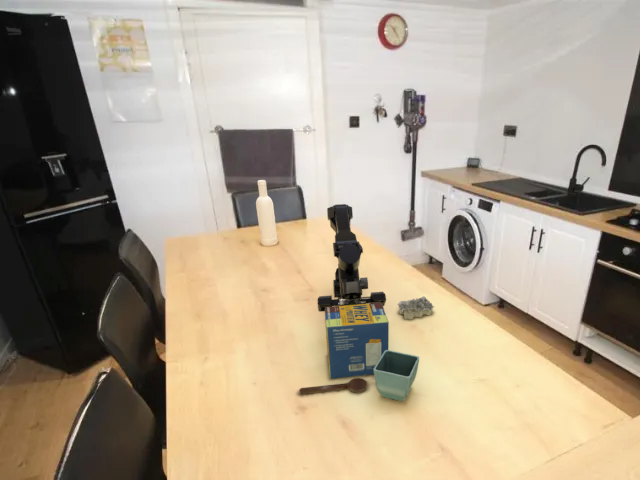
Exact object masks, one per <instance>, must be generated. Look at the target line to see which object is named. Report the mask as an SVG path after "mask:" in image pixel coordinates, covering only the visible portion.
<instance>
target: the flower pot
mask: <svg viewBox="0 0 640 480" xmlns="http://www.w3.org/2000/svg"><path fill="white" fill-rule="evenodd" d="M419 363H420V356H418V355H415V354H409V353H404V352H400V351H399V352H398V351H395V350H390V349H388V350H385V351H384V353H383V354H382V356H381V358H380V359H379V361H378V363H377V364H376V366H375V367H374V369H373V370H374V374H373V376H374V377H373V378H374V382H375V387H376V389H377V391H378V393H379V394H380V395H381V396H382V397H383V398H387V399H390V400H394V401H399V402H404V401H405V400H406V399H407V397H408V395H409V393H410V391H411V388H412V387H413V384H414V382H415V379H416V377H417V373H418V368H419Z"/></svg>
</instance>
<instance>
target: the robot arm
mask: <svg viewBox="0 0 640 480" xmlns="http://www.w3.org/2000/svg"><path fill="white" fill-rule="evenodd" d="M326 212H327V214H326V215H327V221H329V225H330V229H332V230H333V232H335V235H334V242H332V252H333V256H334V257H335V258H336V259H337V261H338V262H337V266H338V267H337V268H336V269H335V271H334V279H333V281H332V287H333V296H332V295H331V294H330V295H321V296H320V295H319V296H318V298H317V308H318V309H317V310H318V312H320V313H323V312H325V307H334V306H345V305H358V304H370V303H382V305H383V307H385V305H386V302H387V296H386V295H387V294H386V293H385V292H384V291H373V292H370V295H369V296H363V290H369V281H368V277H360V272H359V271H360V270H359V267H360V264H361V263H360V261H361V256H362V254H364V248H363V246H362V244H360V241H359V240H357V236H356V233H354V232H352V228H351V220H353V219H354V215H353V207H352V206H350V205H349V204H347V203H338V204H337V203H336V204H334V205H331V206H330V207H327V209H326ZM333 297H334V298H333Z"/></svg>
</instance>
